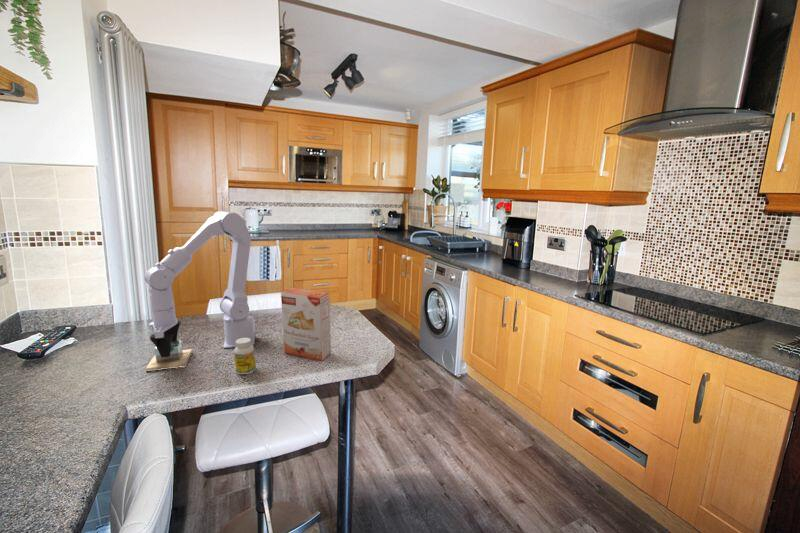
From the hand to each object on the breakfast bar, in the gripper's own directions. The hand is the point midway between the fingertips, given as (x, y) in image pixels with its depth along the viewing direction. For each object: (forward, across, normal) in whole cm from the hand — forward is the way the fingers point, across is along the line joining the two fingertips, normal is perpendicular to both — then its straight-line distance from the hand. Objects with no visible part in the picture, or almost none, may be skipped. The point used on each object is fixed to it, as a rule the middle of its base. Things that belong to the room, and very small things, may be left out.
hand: (169, 350), depth 114 cm
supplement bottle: (+4, +12, +22) cm, 25 cm away
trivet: (+4, 0, 0) cm, 4 cm away
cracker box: (+4, +6, +40) cm, 41 cm away
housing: (+2, 0, 0) cm, 2 cm away
